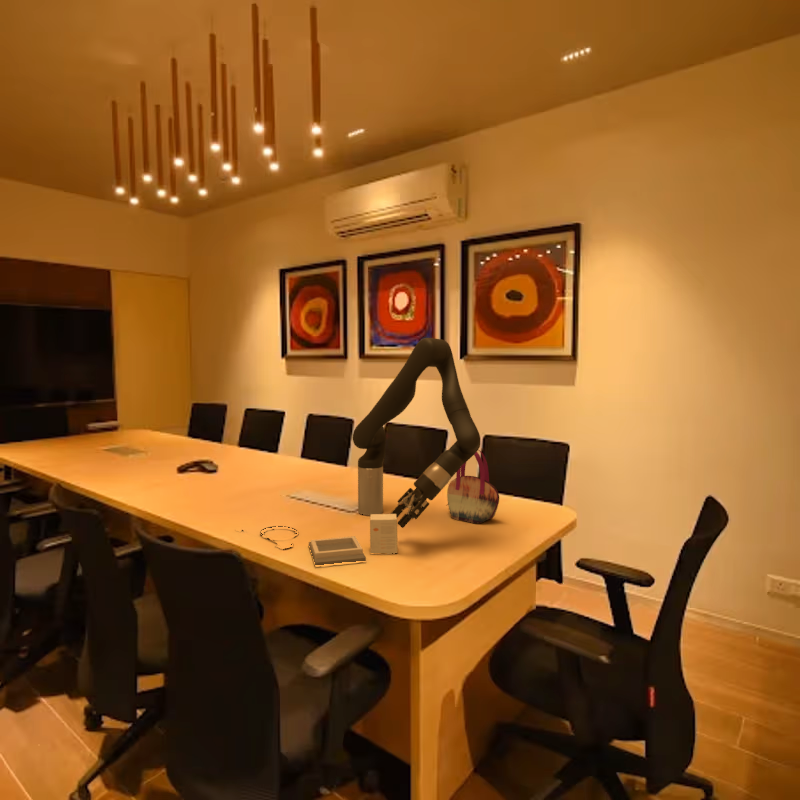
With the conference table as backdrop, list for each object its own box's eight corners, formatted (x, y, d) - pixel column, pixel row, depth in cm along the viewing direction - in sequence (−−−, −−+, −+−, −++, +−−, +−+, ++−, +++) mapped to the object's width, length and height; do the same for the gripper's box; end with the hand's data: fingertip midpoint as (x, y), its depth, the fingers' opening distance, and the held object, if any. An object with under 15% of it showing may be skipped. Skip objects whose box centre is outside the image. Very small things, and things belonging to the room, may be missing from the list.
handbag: (438, 516, 193) (439, 447, 192) (453, 510, 201) (454, 444, 199) (491, 527, 180) (492, 454, 178) (505, 520, 188) (506, 450, 186)
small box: (397, 547, 161) (397, 513, 160) (397, 554, 156) (397, 519, 155) (370, 548, 161) (370, 513, 160) (369, 554, 155) (369, 519, 155)
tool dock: (308, 546, 162) (308, 537, 162) (354, 542, 166) (354, 533, 165) (315, 568, 146) (315, 557, 145) (365, 562, 149) (365, 552, 149)
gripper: (417, 468, 167) (381, 507, 165) (432, 477, 153) (393, 520, 151) (433, 483, 169) (398, 522, 166) (449, 494, 155) (411, 537, 153)
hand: (395, 521), depth 159 cm, fingers open, 8 cm apart
